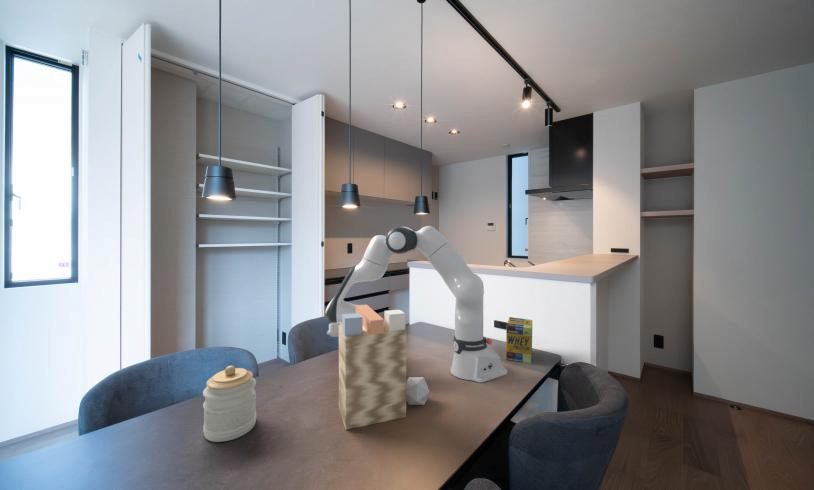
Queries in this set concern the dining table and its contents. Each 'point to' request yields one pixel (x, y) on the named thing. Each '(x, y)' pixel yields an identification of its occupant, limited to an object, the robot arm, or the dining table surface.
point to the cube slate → (352, 324)
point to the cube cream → (394, 320)
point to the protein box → (519, 340)
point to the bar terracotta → (370, 319)
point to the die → (416, 391)
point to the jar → (229, 404)
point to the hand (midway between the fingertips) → (359, 321)
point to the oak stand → (372, 377)
